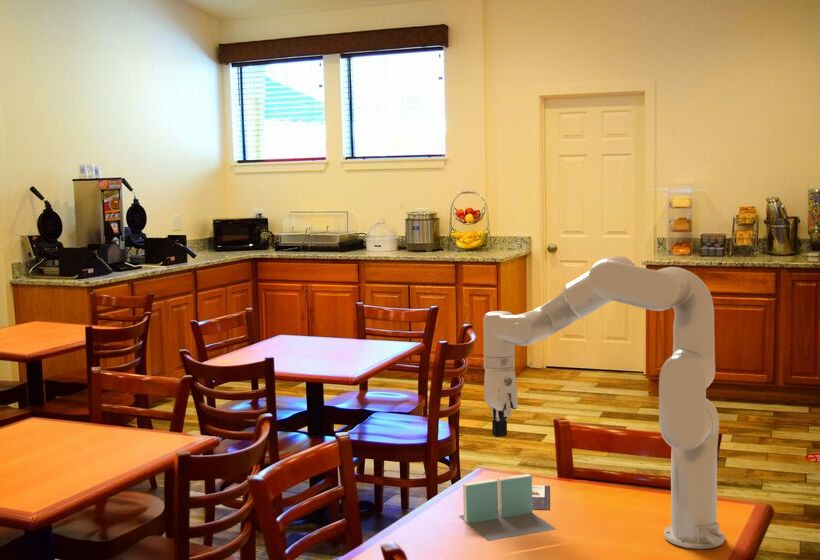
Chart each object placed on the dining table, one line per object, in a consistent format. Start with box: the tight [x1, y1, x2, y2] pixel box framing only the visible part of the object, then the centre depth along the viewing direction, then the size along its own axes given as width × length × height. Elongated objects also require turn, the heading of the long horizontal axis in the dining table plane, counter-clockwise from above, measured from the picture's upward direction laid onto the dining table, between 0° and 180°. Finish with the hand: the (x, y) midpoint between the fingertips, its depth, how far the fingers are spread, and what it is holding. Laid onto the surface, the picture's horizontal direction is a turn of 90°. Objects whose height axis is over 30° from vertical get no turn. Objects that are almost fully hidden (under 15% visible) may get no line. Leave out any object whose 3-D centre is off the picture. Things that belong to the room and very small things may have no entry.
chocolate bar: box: [532, 484, 551, 511], centre depth 223 cm, size 9×1×18 cm
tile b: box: [462, 478, 499, 524], centre depth 208 cm, size 2×8×9 cm, turn 110°
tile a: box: [497, 473, 534, 518], centre depth 211 cm, size 2×8×9 cm, turn 110°
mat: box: [458, 508, 556, 542], centre depth 206 cm, size 17×17×1 cm
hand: (499, 435), depth 217 cm, fingers closed
